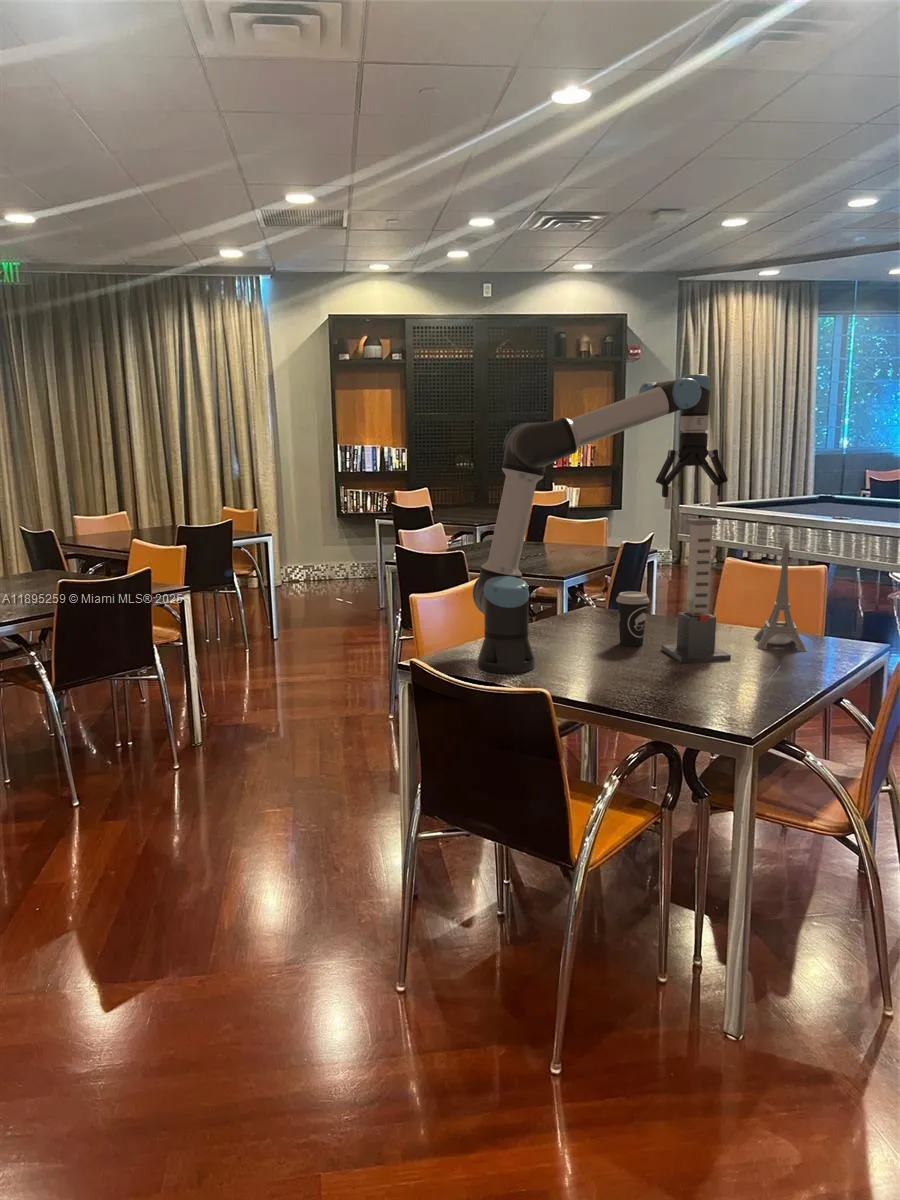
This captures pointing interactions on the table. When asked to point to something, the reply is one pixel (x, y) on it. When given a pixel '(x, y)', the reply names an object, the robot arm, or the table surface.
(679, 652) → the stand base
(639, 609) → the coffee cup
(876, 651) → the table surface
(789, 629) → the eiffel tower
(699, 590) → the column
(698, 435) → the robot arm
